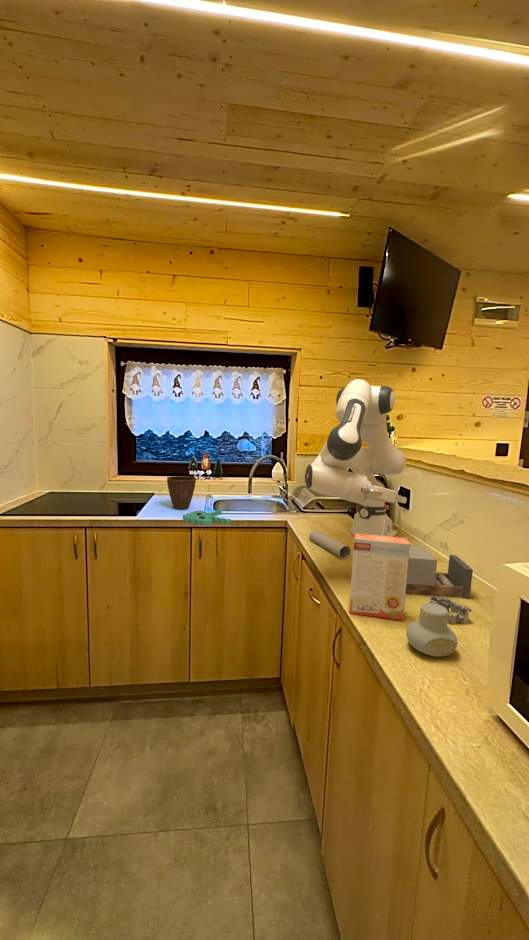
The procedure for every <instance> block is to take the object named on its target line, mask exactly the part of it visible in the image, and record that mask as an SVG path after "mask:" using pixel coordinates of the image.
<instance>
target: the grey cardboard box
mask: <svg viewBox="0 0 529 940" xmlns="http://www.w3.org/2000/svg"><path fill="white" fill-rule="evenodd" d="M437 566H438V559H437V558H436V557H435V556H434V555H433V554H432V553H431V552H430V551H429V550H428V549H427V548H426V547H425V546H424V545H423V546H422V545H411V544H410V548H409V559H408V571H407V582H406V584H415V585H430V586H435V578H436V572H437Z"/></svg>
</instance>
